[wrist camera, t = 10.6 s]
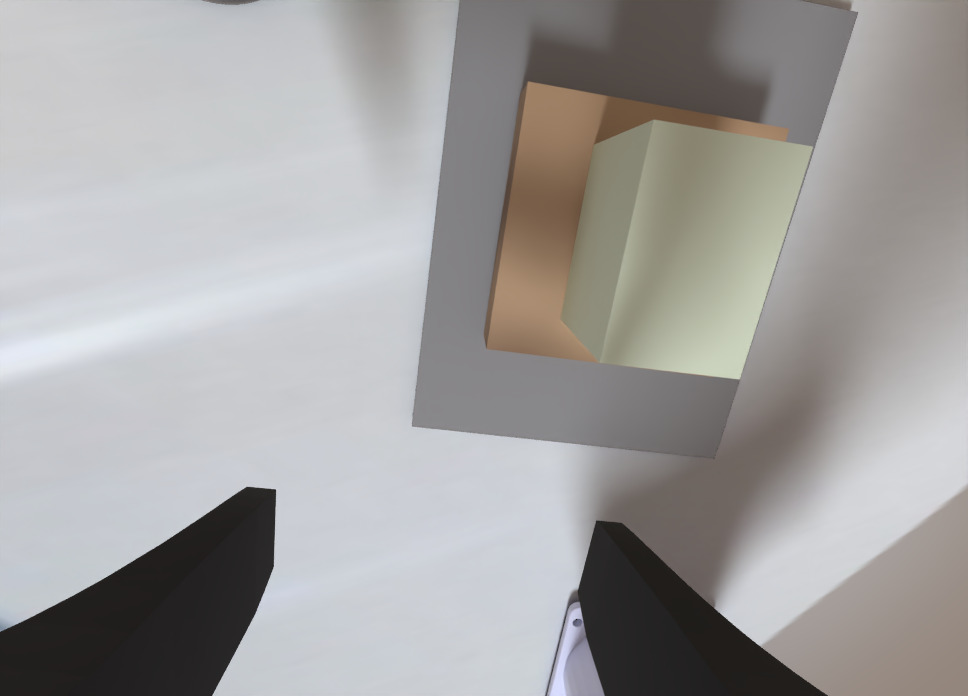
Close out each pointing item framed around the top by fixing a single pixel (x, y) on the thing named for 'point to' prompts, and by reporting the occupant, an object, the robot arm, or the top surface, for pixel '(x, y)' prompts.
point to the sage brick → (679, 245)
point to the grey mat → (483, 177)
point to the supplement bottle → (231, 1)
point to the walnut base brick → (561, 208)
